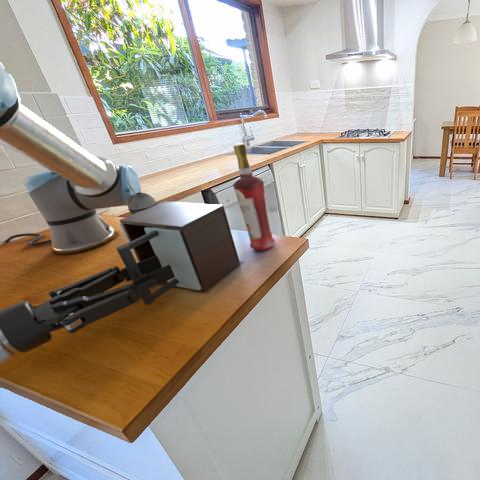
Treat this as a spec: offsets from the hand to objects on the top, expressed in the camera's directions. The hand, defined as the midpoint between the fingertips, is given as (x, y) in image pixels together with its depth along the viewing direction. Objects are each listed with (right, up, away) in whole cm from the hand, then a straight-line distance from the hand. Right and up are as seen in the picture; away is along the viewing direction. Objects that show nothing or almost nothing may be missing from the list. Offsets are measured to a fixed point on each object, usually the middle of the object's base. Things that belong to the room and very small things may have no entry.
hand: (165, 265), depth 60 cm
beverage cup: (-21, +5, +30) cm, 37 cm away
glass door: (0, -7, +2) cm, 7 cm away
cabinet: (-1, -3, +13) cm, 13 cm away
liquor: (+14, +3, +22) cm, 26 cm away
